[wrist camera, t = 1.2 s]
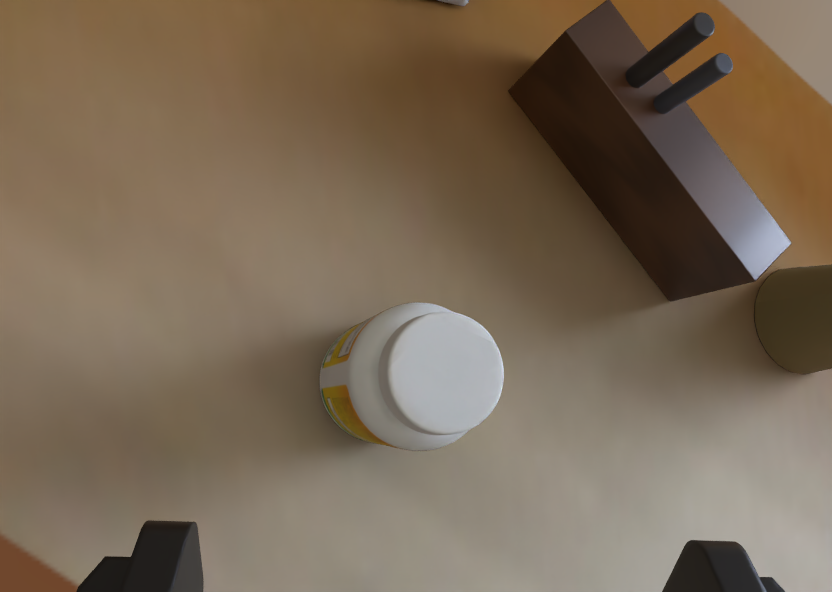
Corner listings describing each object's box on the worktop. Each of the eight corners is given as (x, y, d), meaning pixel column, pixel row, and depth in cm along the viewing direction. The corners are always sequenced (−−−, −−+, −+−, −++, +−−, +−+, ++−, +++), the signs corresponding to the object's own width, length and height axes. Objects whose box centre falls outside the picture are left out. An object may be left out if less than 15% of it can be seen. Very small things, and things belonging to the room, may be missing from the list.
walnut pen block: (507, 90, 36) (625, -33, 26) (546, 62, 37) (673, -68, 27) (669, 302, 37) (843, 260, 27) (703, 268, 38) (882, 217, 28)
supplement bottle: (321, 318, 31) (371, 279, 22) (434, 328, 32) (525, 295, 23) (313, 441, 30) (361, 453, 21) (430, 445, 31) (523, 458, 22)
